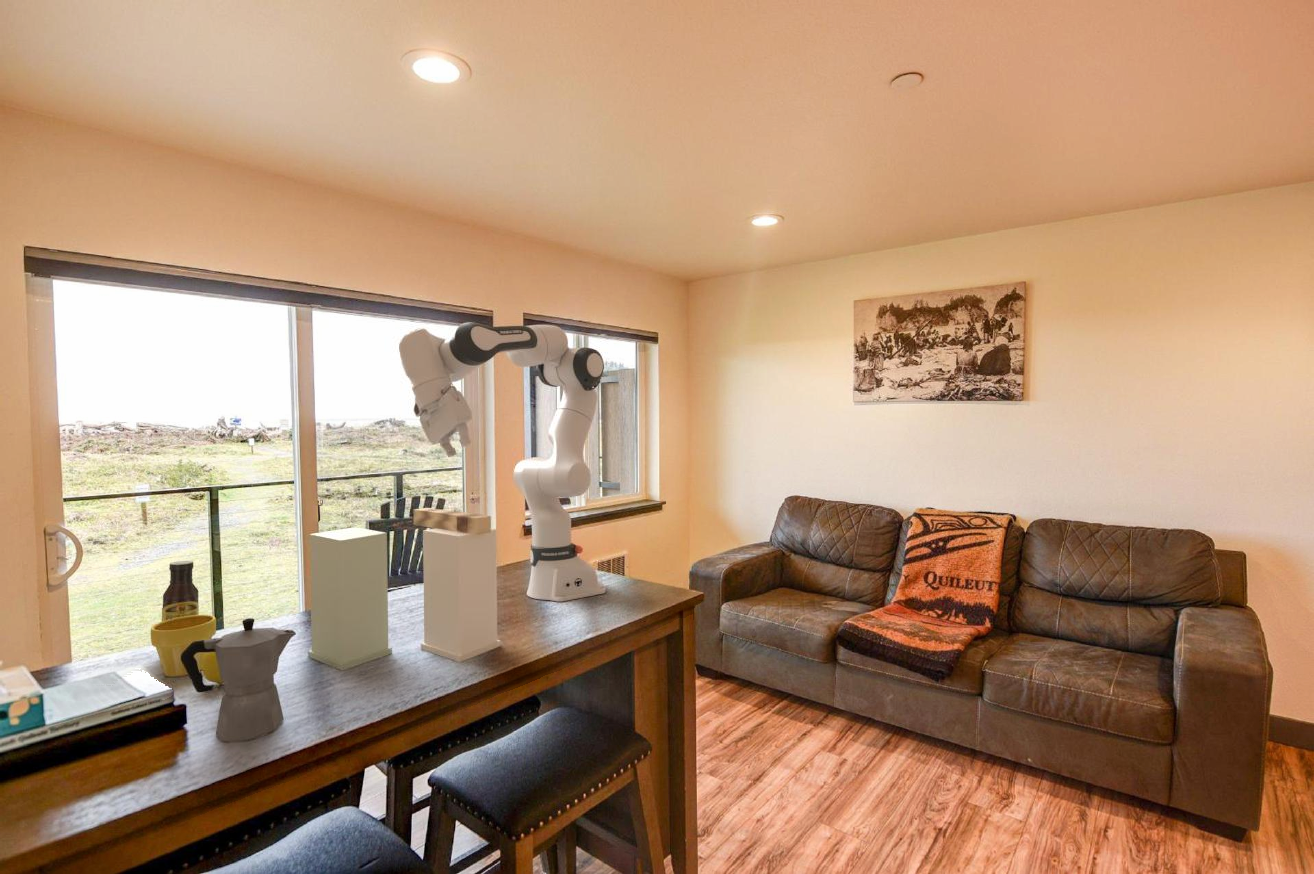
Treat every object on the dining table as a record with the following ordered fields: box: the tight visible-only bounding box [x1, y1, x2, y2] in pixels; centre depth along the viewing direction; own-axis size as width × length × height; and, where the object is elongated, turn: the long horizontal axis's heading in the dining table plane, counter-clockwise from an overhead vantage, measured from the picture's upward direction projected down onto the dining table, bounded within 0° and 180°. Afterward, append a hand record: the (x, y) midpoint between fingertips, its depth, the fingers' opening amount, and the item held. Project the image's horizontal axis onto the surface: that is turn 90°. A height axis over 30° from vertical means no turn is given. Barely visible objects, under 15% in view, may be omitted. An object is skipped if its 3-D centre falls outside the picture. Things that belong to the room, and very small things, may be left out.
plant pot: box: [150, 614, 217, 678], centre depth 124 cm, size 10×10×10 cm
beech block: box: [413, 507, 492, 535], centre depth 137 cm, size 22×4×4 cm, turn 56°
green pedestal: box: [307, 527, 393, 671], centre depth 132 cm, size 13×11×26 cm
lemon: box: [202, 652, 224, 686], centre depth 118 cm, size 6×6×8 cm
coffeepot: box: [181, 618, 297, 743], centre depth 100 cm, size 15×9×18 cm, turn 122°
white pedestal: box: [420, 527, 502, 663], centre depth 136 cm, size 13×11×26 cm
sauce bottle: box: [161, 560, 200, 622], centre depth 132 cm, size 7×6×20 cm
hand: (459, 450), depth 145 cm, fingers open, 8 cm apart
